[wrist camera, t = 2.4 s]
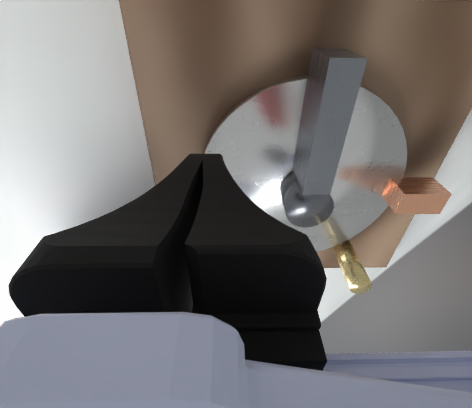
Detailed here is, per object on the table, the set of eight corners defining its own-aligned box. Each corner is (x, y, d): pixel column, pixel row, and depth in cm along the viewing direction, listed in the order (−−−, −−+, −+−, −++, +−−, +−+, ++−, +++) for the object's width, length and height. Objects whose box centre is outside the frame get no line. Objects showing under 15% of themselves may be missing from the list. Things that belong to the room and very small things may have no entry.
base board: (174, 257, 27) (172, 269, 26) (126, -6, 15) (117, -7, 13) (379, 255, 28) (386, 267, 27) (504, 1, 15) (528, 1, 14)
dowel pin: (328, 245, 25) (347, 293, 21) (332, 233, 24) (353, 280, 20) (345, 245, 25) (368, 293, 21) (350, 232, 24) (374, 280, 20)
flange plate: (206, 247, 24) (202, 286, 21) (191, 42, 14) (180, 56, 11) (386, 246, 24) (410, 283, 21) (485, 46, 15) (556, 60, 12)
